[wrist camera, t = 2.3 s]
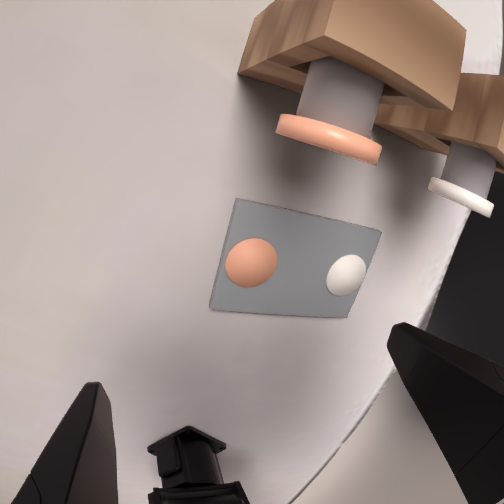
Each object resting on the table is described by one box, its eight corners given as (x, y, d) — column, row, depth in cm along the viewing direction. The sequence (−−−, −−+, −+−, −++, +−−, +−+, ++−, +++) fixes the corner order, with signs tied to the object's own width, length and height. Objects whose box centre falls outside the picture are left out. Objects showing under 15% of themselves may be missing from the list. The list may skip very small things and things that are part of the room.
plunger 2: (452, 201, 19) (500, 223, 15) (413, 183, 17) (467, 205, 13) (476, 114, 16) (525, 124, 13) (440, 85, 15) (496, 89, 11)
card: (343, 314, 27) (347, 319, 26) (209, 304, 23) (210, 310, 22) (377, 229, 24) (383, 233, 24) (235, 198, 20) (238, 201, 20)
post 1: (323, 102, 19) (452, 111, 9) (237, 73, 17) (324, 35, 7) (337, 50, 18) (466, 30, 8) (254, 18, 16) (348, -55, 6)
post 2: (422, 148, 23) (534, 185, 13) (369, 122, 20) (497, 148, 11) (433, 105, 21) (546, 127, 12) (382, 73, 19) (509, 76, 9)
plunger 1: (341, 155, 15) (397, 172, 11) (262, 129, 14) (302, 137, 10) (373, 40, 13) (431, 30, 9) (298, 5, 11) (347, -24, 8)
